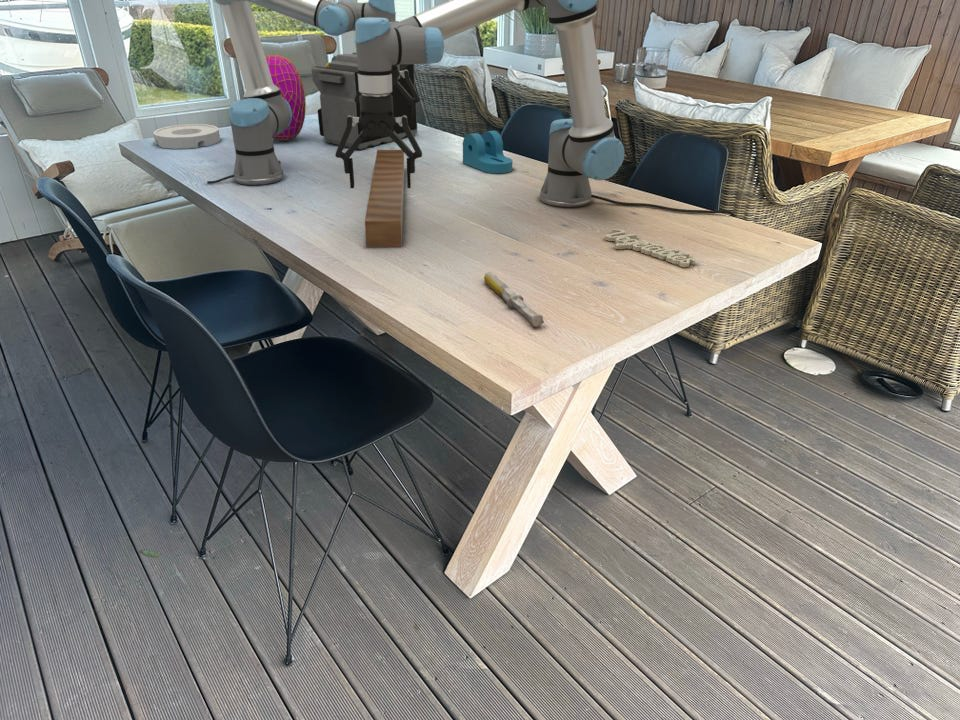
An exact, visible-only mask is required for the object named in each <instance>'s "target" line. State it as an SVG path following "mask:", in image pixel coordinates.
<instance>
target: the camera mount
mask: <svg viewBox="0 0 960 720" xmlns="http://www.w3.org/2000/svg"><path fill="white" fill-rule="evenodd" d="M462 164H463V165H467V166H469V167H472V168H473V169H477V170H479V171H482V172H483V173H487V174H505V173H510V172H512V171H513V159H512V158H510V157H508V156H505V155H504V142H503V138H502V135H501V134H500V132H499V131H497V130H488V131H485V132H483V133H482V134H480V133H477V132H474V133H468V134H466V135H465V136H464V137H463V140H462Z"/></svg>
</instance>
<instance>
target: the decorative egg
mask: <svg viewBox="0 0 960 720" xmlns="http://www.w3.org/2000/svg"><path fill="white" fill-rule="evenodd" d="M265 57H266V61H267V64H268V68H269V71H270V74H271V78H272V81H273V84H274V85H275V86H277V87H278V88H279V89H280V92H281V95H282V97H283V98H284V99H285V100H286V101H287V102H288V104H289V105H290V108H291V111H292V119H291V123H290V125H289V126H288V127H287V128H286V130H285V131H284V132H282V133H281V134H278V135H276V136H274V137H273V140H275V141H282V142H286V141H291V140H293V139H296V138H297V137H298V136H299V134H301V131H302V129H303V127H304V123H305V118H306V104H307V103H306V102H307V101H306V99H307V97H306V93H305V88H304V84H303V81H302V77H301V75H300V73H299V71H298V69H297V67H296V66H295V65H294V63H293V62H292V61H291V60H290V59H288V58H287V57H285V56H282V55H280V54H268V55H265Z"/></svg>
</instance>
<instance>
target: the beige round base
mask: <svg viewBox="0 0 960 720" xmlns="http://www.w3.org/2000/svg"><path fill="white" fill-rule="evenodd" d="M152 135H153V139H154V143H155V146H158V147H160V148H163V149H173V150H183V149H185V150H186V149H197V148H199V147H208V146H212V145H214V144H215V145H216V144H217V143H219V142H220V141H221V136H220V129H219V127H218V126H216V125H212V124H204V123H186V124H175V125H168V126H163V127H160V128H158V129H155V130H154V131H153V132H152Z"/></svg>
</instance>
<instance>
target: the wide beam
mask: <svg viewBox="0 0 960 720" xmlns="http://www.w3.org/2000/svg"><path fill="white" fill-rule="evenodd" d="M405 169H406V168H405V153H404V152H403V151H402V150H401V149H377V150H376V155H375V162H374V167H373V172H372V177H371V184H370V188H369V195H368V200H367V207H366V211H365V216H364V231H365V232H364V233H365V242H366V243H365V244H366V245H365V246H366V248H402V247H403V228H404V227H403V225H404V222H403V221H404V199H405V197H404V196H405V195H404V193H405V171H406V170H405Z"/></svg>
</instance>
